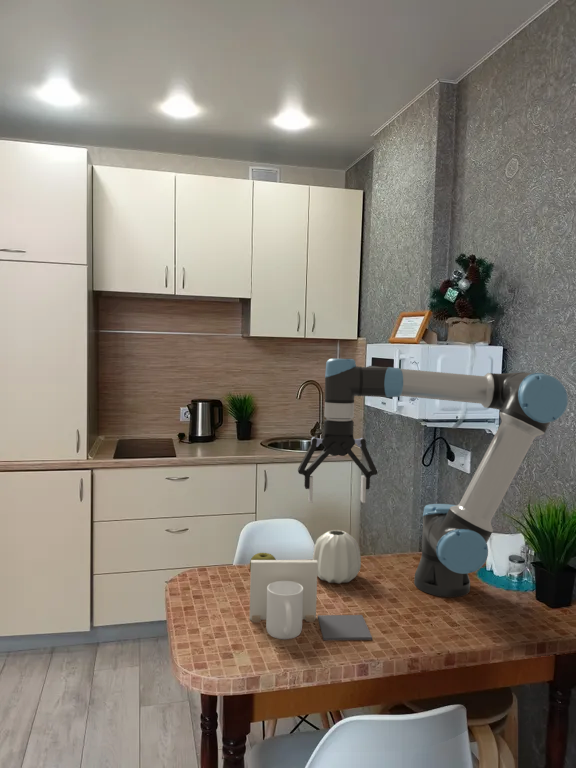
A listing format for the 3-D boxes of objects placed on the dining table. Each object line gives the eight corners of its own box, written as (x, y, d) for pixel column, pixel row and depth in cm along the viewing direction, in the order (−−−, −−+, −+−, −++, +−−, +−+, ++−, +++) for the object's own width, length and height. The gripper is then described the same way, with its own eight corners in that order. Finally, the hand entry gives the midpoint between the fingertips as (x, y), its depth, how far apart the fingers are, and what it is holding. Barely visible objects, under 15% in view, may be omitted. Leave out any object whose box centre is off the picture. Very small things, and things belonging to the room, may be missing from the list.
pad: (362, 617, 139) (362, 614, 139) (371, 639, 128) (372, 637, 128) (317, 617, 138) (317, 615, 138) (323, 640, 127) (323, 637, 127)
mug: (307, 648, 124) (308, 601, 123) (269, 649, 123) (270, 603, 122) (299, 622, 136) (300, 580, 135) (264, 623, 135) (265, 580, 134)
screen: (314, 613, 140) (316, 558, 140) (316, 621, 136) (318, 564, 136) (249, 614, 139) (250, 558, 138) (249, 622, 135) (251, 564, 134)
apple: (260, 572, 166) (261, 548, 166) (282, 579, 162) (283, 554, 161) (243, 580, 160) (244, 555, 160) (266, 587, 155) (266, 562, 155)
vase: (302, 579, 162) (304, 533, 161) (327, 565, 173) (329, 522, 172) (345, 592, 154) (346, 543, 153) (368, 576, 165) (370, 531, 165)
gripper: (383, 418, 149) (381, 498, 150) (288, 416, 147) (287, 497, 148) (390, 421, 142) (388, 505, 143) (291, 420, 140) (289, 505, 141)
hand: (336, 501), depth 146 cm, fingers open, 13 cm apart
